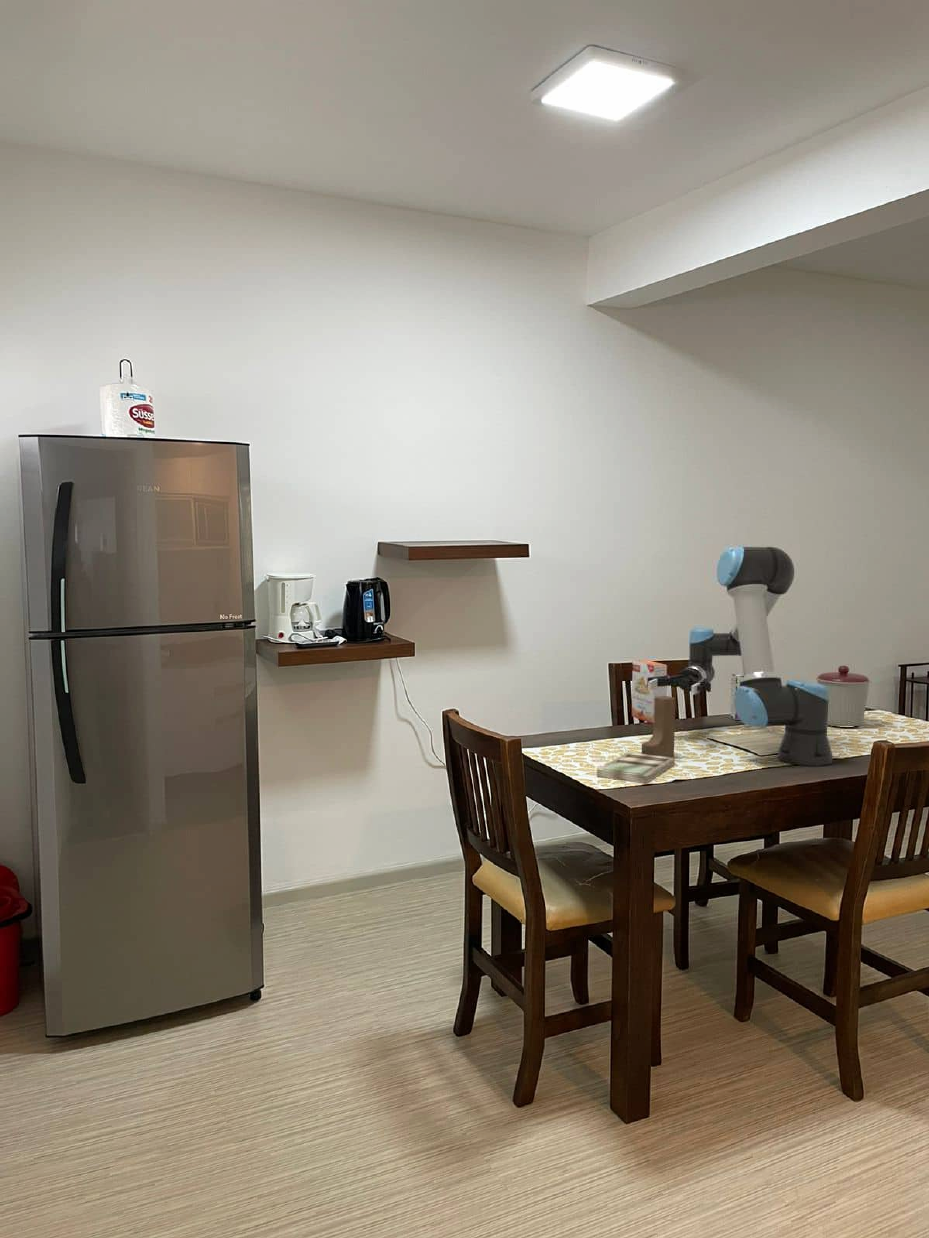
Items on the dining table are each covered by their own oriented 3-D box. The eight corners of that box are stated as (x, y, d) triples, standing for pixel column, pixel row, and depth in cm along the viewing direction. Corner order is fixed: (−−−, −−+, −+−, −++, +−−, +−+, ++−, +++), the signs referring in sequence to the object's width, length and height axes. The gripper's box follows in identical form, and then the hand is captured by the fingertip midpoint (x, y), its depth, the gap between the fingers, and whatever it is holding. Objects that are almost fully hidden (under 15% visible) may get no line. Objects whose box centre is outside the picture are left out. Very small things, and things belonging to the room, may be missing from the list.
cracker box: (630, 717, 343) (631, 659, 341) (644, 716, 345) (646, 659, 344) (651, 724, 330) (653, 664, 328) (666, 723, 332) (668, 664, 331)
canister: (825, 730, 321) (827, 669, 319) (805, 720, 339) (808, 662, 337) (878, 730, 321) (881, 669, 319) (856, 720, 339) (858, 662, 337)
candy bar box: (758, 717, 343) (760, 673, 342) (764, 720, 338) (766, 675, 337) (729, 718, 342) (730, 673, 340) (735, 721, 337) (736, 675, 335)
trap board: (674, 764, 271) (674, 756, 271) (646, 783, 250) (646, 774, 250) (628, 758, 278) (628, 751, 278) (596, 776, 257) (597, 768, 257)
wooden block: (651, 761, 275) (652, 700, 274) (640, 757, 279) (642, 697, 278) (674, 757, 280) (675, 697, 278) (664, 754, 284) (665, 695, 282)
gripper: (729, 693, 301) (710, 704, 283) (654, 686, 313) (631, 696, 295) (730, 670, 300) (711, 679, 282) (654, 664, 313) (632, 672, 294)
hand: (670, 688), depth 289 cm, fingers open, 13 cm apart
